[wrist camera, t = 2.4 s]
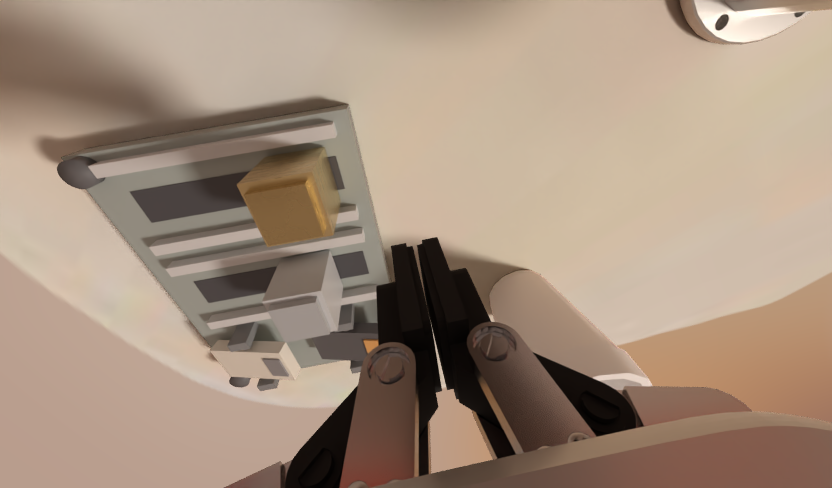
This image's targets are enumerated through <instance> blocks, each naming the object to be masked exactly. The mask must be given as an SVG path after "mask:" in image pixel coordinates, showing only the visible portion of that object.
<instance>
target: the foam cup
mask: <svg viewBox="0 0 832 488" xmlns="http://www.w3.org/2000/svg"><path fill="white" fill-rule="evenodd" d="M489 298H490V305H491V310H492V314H493V318H494V321H495V322H499V323H502V324H506V325H508V326H509V327H511V328H513V329H514V330H515V331H516V332H517V333H518V334H519V335H520V337H521V338H522V339H523V341H524V342H525V343H526V344H527V346H528V347H529V348H530V350H531V351H532V352H534V353H536V354H538V355H541V356H543V357H545V358H548V359H550V360H552V361H554V362H557V363H559V364H561V365H564V366H566V367H568V368H571V369H573V370H575V371H577V372H580V373H582V374H584V375H587V376H589V377H591V378H593V379H596V380H598V381H600V382H603V383H605V384H607V385H609V386H610V387H612V388H614V389H616V390H623V388H624V386H652V384H651V382H650V380H649V378H648V377H647V376H646V375H645V374H644V372H643V371H642V370H641V369H640V368H639V367H638V365H637V364H636V363H635V362H634V361H633V359H632V358H631V357H630V356H629V355H628V353H627V352H626V351H625V350H623V349H620V348H618V347H617V346H616V345H615V344H614V343H613V342H612V341H611V340H610V339H609V338H608V337H607V336H605V335H604V334H603V333H602V332H601V331H600V330H599V329H598V328H597V327H596V326H595V325H594V324H593V323H592V322H591V321H590V320H589V319H588V318H587V317H585V316H584V315H583V314H582V313H581V312H580V311H579V310H578V309H577V308H576V307H575V306H574V305H573V304H572V303H571V302H570V301H569V300H568V299H566V298H565V297H564V296H563V295H562V294H561V293H560V292H559V291H558V290H557V289H556V288H555V287H554V286H553V285H552V284H551V283H550V282H549V281H548V280H546V279H545V278H544V277H542V275H541V274H539V273H537V272H534V271H532V270H518V271H515V272H513V273H510V274H508V275H505V276H504V277H502V278H501V279H500V280H499V281H498V282H497V283H495V284H494V286H493V288H492V290H491V292H490V294H489Z"/></svg>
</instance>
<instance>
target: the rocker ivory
mask: <svg viewBox="0 0 832 488" xmlns="http://www.w3.org/2000/svg"><path fill="white" fill-rule="evenodd" d="M229 341H230V340H218V341H217V342H216V343H215V344H214V346H213V347H212V348H211V349H210V352H211V353H212V354H213V356H214V357H215V358H216V359H217V361H218V362H219V363H220V364H221V366H222V367H223V368H224V369H225V371H226V372H227V373H228V374H229V376H230V377H246V378H263V379H280V380H296V378H297V376H298V374H299V372H300V370H301V368H300V366H299V364H298V362H297V361H296V359H295V357H294V355H293V354H292V352H291V350H290V348H289V347H288V345H287V343H286V342H277V341H253V342H252V345H251V347H250V349H245V350H240V351H234V352H231V351H230V350H229V348H228V347H227V345H228V343H229Z"/></svg>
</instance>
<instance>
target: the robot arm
mask: <svg viewBox="0 0 832 488" xmlns="http://www.w3.org/2000/svg"><path fill="white" fill-rule="evenodd" d="M680 4H681V9H682V11H683V13H684V16H685V18H686V20H687V23H688V24H689V25H690V27H691V28H692V29H693V30H694V31H695V32H696V34H697V35H699V36H701V37H702V38H704V39H706V40H707V41H709V42H714V43H718V44H746V43H752V42H758V41H761V40H763V39H766V38H769V37H771V36H774V35H776V34H778V33H780V32H782V31H784V30H785V29H787V28H789V27H791V26H793V25H794V24H796V23H797V22H799V21H800V20H801V19H803V18H804V17H806V16H807V15H808V14H810V13H811V12H812V11H818V10H829V9H832V0H680ZM417 248H418V254H419V260H420V267H421V273H422V279H423V285H424V291H425V296H424V292H423V288H422V284H421V280H420V275H419V271H418V267H417V263H416V259H415V254H414V250H413V246H410V247H407V246H406V243H404V244H399V245H394V246H391V249H392V257H393V265H394V273H395V281H396V282H392V283H387V284H382V285H377V286H376V297H377V322H378V346H377V347H375V348H374V349H373V350H372V351H370V352H369V353H368V355H367V356H366V357H365V359H364V361H363V364H362V367H361V372H360V378H359V383H358V386H357V387H356V388H355V389H354V390H353V391H352V392H351V393H350V395H349V396H348V397H347V398H346V399H345V400H344V401H343V402H342V403H341V405H340V406H339V407H338V408H337V409H336V410H335V411H334V412H333V413H332V415H331V416H330V417H329V418H328V419H327V420H326V421H325V422H324V423H323V425H322V426H321V427H320V428H319V429H318V430H317V431H316V432H315V434H314V435H313V436H312V437H311V438H310V439H309V440H308V441H307V442H306V444H305V445H304V446H303V447H302V448H301V449H300V450H299V452H298V453H297V454H296V456H295V457H294V458H293V460H291V461H289V462H287V463H285V464H282V463H281V462H278V463H276V464H273V465H271V466H269V467H267V468H265V469H263V470H261V471H258V472H256V473H254V474H252V475H250V476H248V477H246V478H244V479H241V480H239V481H237V482H235V483H233V484H231V485H229V486H227V487H224V488H832V423H831V422H827V421H822V420H818V419H813V418H807V417H802V416H796V415H789V414H780V413H771V412H752V411H751V410H750V409H749V408H748V407H747V406H746V405H745V404H744V403H743V402H741V401H740V400H738V399H737V398H735V397H733V396H732V395H730V394H727V393H725V392H723V391H720V390H717V389H712V388H706V387H705V388H704V387H655V386H624V388H623V390H616V389H614V388H612V387H610V386H609V385H607V384H605V383H603V382H600V381H598V380H596V379H593V378H591V377H589V376H587V375H584V374H582V373H580V372H577V371H575V370H573V369H571V368H568V367H566V366H564V365H561V364H559V363H557V362H554V361H552V360H550V359H548V358H545V357H543V356H541V355H538V354H536V353H534V352H532V351H531V350H530V348H529V347H528V346H527V344H526V343H525V342H524V341H523V339H522V338H521V337H520V335H519V334H518V333H517V332H516V331H515V330H514V329H513V328H511V327H509V326H508V325H506V324H502V323H499V322H491V321H490V318H489V316H488V314H487V312H486V310H485V308H484V305H483V303H482V301H481V299H480V297H479V295H478V293H477V290H476V288H475V286H474V284H473V282H472V280H471V277H470V275H469V273H468V271H467V269H466V268H463V269H458V270H453V271H450V269H449V267H448V264H447V262H446V259H445V256H444V254H443V251H442V249H441V246H440V243H439V241H438V238H437V237H436V238H430V239H425V240H422V244H420V245H417ZM425 297H426V300H425ZM426 303H427V305H426ZM427 308H428V309H427ZM428 312H429V313H428ZM429 316H430V317H429ZM430 320H431V322H430ZM431 324H432V327H431ZM432 329H433V332H432ZM433 333H434V337H435V341H436V345H437V349H438V354H439V358H440V362H441V366H442V370H443V374H444V379H445V383H446V387H447V390H449V389H454V392H455V396H456V399H459V402H460V403H461V404H463V405H465V406H466V407H468V408H470V409H471V410H472V413H473V416H474V419H475V421H476V423H477V425H478V428H479V430H480V432H481V434H482V436H483V439H484V441H485V443H486V445H487V447H488V449H489V452H490V454H491V456H492V458H493V460H490V461H486V462H481V463H477V464H472V465H468V466H463V467H459V468H454V469H450V470H446V471H441V472H437V473H432V474H431V447H430V424H429V420H430V419H431V417H432V415H433V414H434V413H435V411H436V410H437V408H438V403H437V397H436V392H440V391H442V388H441V382H440V376H439V369H438V363H437V357H436V351H435V344H434V338H433Z"/></svg>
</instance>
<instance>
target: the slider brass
mask: <svg viewBox="0 0 832 488" xmlns="http://www.w3.org/2000/svg"><path fill="white" fill-rule="evenodd" d="M237 187H238V189H239V191H240V193H241V195H242V197H243V199H244V201H245V203H246V205H247V207H248V209H249V211H250V213H251V215H252V217H253V219H254V221H255V223H256V225H257V227H258V229H259V231H260V233H261V235H262V237H263V239H264V241H265V243H266V246H267V247H271V246H277V245H283V244H288V243H294V242H299V241H305V240H310V239H316V238H321V237H327V236H332V235H334V231H335V226H336V222H337V217H338V212H339V208H340V203H341V199H340V196H339V193H338V189H337V186H336V183H335V179H334V176H333V173H332V169H331V166H330V163H329V159H328V156H327V153H326V149H325V147H319V148H313V149H307V150H301V151H296V152H290V153H284V154H278V155H272V156H267V157H264V158H263V159H262V160H261V161H260V162H259V163H258V164H257V165H256V166H255V167H254V168H253V169H252V170H251V171H250V172H249V173H248V174H247V175H246V176H245V177H244V178H243V179H242V180H241V181H240V182H239V183H238V184H237Z"/></svg>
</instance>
